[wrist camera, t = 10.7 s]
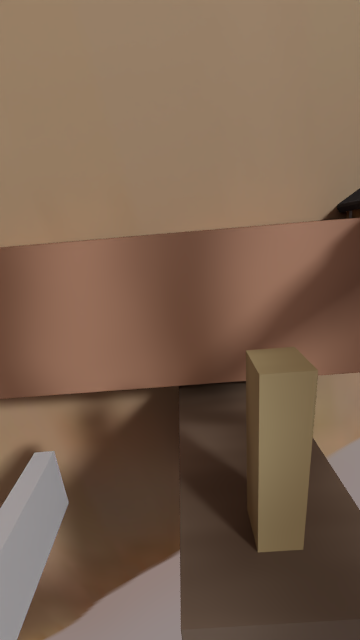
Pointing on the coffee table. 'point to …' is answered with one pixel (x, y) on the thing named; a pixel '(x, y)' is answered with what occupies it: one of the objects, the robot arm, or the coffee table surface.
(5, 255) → the board
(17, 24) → the coffee table surface
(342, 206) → the ammunition clip
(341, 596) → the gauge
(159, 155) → the coffee table surface
